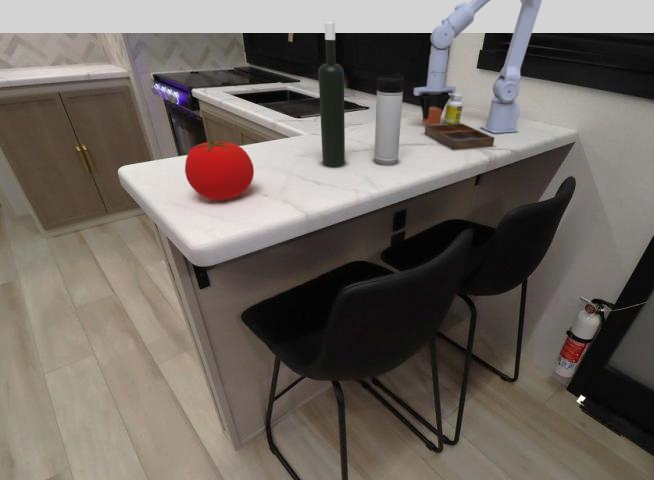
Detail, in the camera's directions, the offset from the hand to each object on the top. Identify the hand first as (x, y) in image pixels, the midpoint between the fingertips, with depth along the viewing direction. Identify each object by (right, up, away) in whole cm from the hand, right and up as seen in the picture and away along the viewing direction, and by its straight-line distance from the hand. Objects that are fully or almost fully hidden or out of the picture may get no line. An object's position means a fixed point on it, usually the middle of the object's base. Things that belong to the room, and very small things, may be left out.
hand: (431, 118), depth 129 cm
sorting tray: (+6, -12, -9) cm, 16 cm away
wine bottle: (-31, -27, -30) cm, 51 cm away
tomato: (-52, -40, -48) cm, 82 cm away
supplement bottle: (+8, 0, +5) cm, 10 cm away
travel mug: (-17, -25, -28) cm, 41 cm away
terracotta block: (0, -1, +1) cm, 1 cm away
